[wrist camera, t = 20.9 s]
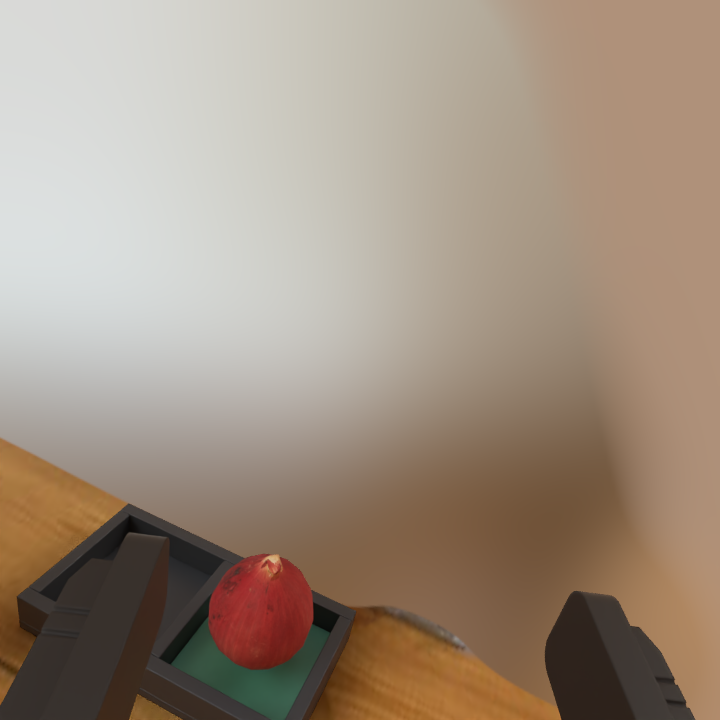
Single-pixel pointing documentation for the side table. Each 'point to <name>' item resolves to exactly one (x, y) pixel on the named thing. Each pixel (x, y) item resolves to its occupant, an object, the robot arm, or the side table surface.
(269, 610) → the onion
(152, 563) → the robot arm
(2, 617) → the side table surface
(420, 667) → the side table surface
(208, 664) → the tray
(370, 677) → the side table surface
